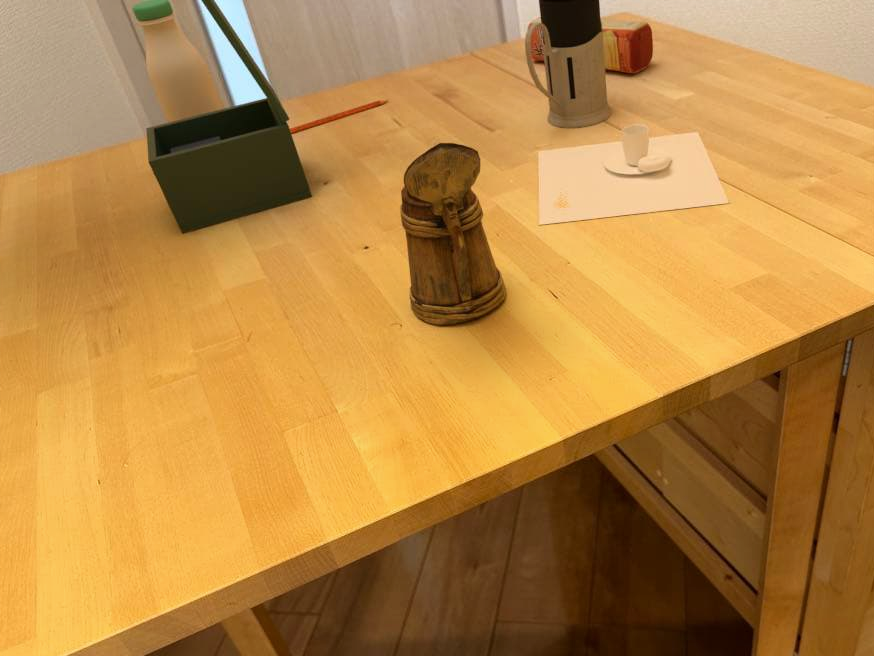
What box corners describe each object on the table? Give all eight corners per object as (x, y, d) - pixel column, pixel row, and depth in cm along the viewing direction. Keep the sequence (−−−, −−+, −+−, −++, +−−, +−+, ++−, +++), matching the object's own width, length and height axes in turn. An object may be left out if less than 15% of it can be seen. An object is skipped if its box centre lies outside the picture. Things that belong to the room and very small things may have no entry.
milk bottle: (243, 153, 109) (185, -1, 96) (189, 169, 106) (122, 14, 94) (232, 138, 114) (175, -9, 101) (180, 154, 112) (115, 5, 99)
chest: (182, 233, 91) (148, 161, 85) (176, 195, 100) (146, 128, 94) (312, 196, 94) (288, 125, 89) (295, 162, 104) (272, 96, 98)
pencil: (280, 136, 113) (278, 131, 112) (389, 101, 119) (388, 97, 118) (281, 137, 112) (280, 133, 112) (391, 102, 118) (390, 98, 118)
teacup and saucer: (677, 176, 86) (676, 141, 83) (606, 184, 86) (604, 149, 84) (666, 146, 93) (666, 112, 90) (601, 154, 93) (598, 121, 91)
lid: (185, -24, 77) (259, -68, 77) (179, -41, 86) (245, -80, 87) (284, 123, 88) (348, 84, 89) (269, 94, 98) (327, 59, 98)
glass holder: (623, 106, 105) (616, -15, 95) (567, 147, 96) (554, 18, 87) (569, 100, 109) (558, -16, 99) (511, 139, 101) (493, 16, 91)
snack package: (526, 63, 125) (520, 19, 120) (552, 51, 128) (547, 7, 124) (631, 79, 113) (629, 30, 108) (657, 65, 116) (656, 16, 112)
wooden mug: (432, 364, 64) (377, 159, 53) (403, 288, 74) (352, 102, 63) (532, 335, 66) (500, 129, 54) (490, 265, 76) (456, 78, 64)
